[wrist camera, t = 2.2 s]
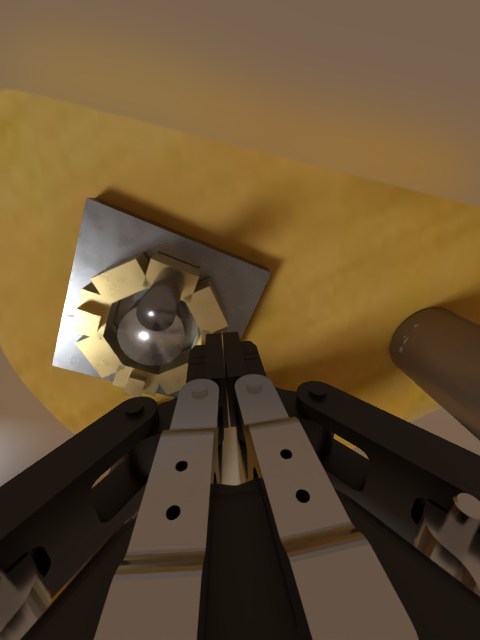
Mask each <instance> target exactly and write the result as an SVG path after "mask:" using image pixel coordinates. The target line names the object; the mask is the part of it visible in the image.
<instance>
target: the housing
mask: <svg viewBox="0 0 480 640" xmlns="http://www.w3.org/2000/svg"><path fill="white" fill-rule="evenodd" d="M141 253H144V255H145V256H146V258H147V260H148V262H149V263H150V259H151V258H152V257H153V256H154V255H155V254H156V253H160V254H162V255H165V256H168V257H170V258H173V259H176V260H178V261H181V262H183V263H186V264H189V265H191V266H194V267H196V268H199V269H200V275H199V279H198V282H200V281H203V280H205V279H207V278H210V280H211V282H212V284H213V286H214V288H215V290H216V292H217V295H218V297H219V299H220V301H221V303H222V305H223V308H224V310H225V312H226V314H227V321H228V326H227V331H228V332H238V334H239V338H240V340H241V338H242V336H243V333H244V331H245V329H246V327H247V325H248V323H249V321H250V318H251V316H252V314H253V312H254V310H255V308H256V305H257V303H258V301H259V299H260V297H261V295H262V293H263V290H264V288H265V286H266V284H267V282H268V280H269V278H270V275H271V272H270V270H269V269H268V268H266V267H263V266H261V265H258V264H256V263H253V262H251V261H248V260H246V259H244V258H241V257H239V256H236V255H234V254H231V253H229V252H226V251H224V250H222V249H219V248H217V247H214V246H212V245H209V244H207V243H204V242H202V241H200V240H197V239H195V238H192V237H190V236H187V235H185V234H183V233H180V232H178V231H175V230H173V229H170V228H168V227H165V226H163V225H161V224H158V223H156V222H153V221H151V220H148V219H146V218H143V217H141V216H139V215H136V214H134V213H131V212H129V211H126V210H124V209H121V208H119V207H117V206H114V205H112V204H109V203H107V202H104V201H102V200H99V199H97V198H87V199H86V203H85V208H84V213H83V218H82V223H81V228H80V233H79V238H78V242H77V247H76V252H75V257H74V262H73V267H72V272H71V276H70V281H69V286H68V291H67V296H66V301H65V306H64V311H63V315H62V320H61V325H60V330H59V335H58V340H57V345H56V350H55V354H54V359H53V364H52V365H53V366H57V367H61V368H65V369H68V370H72V371H76V372H80V373H84V374H87V375H91V376H95V377H99V378H101V376H100V375H99V374H98V372H97V371H96V370H95V368H94V367H93V366H92V365H91V363H90V362H89V361H88V359H87V358H86V357H85V355H84V354H83V353H82V351H81V350H80V349H79V348H78V346H77V345H76V344H75V343H76V342H77V341H78V340H79V339H80V338H81V336H82V335H83V334H80V333H76V332H73V331H72V330H73V321H74V317H75V312H76V309H77V307H78V303H79V299H80V294H81V290H82V288H84V287H85V286H86V285H88V284H89V283H91V282H92V281H91V278H92V277H94V276H95V275H97V274H98V273H99V272H101V271H102V270H105V269H107V268H109V267H111V266H114V265H116V264H118V263H121V262H123V261H125V260H127V259H130V258H132V257H134V256H136V255H139V254H141ZM198 282H197V283H198ZM147 291H148V288H146V289H144V290H141V291H139V292H137V293H134V294H132V295H130V296H127V297H125V298H123V299H120V300H119V303H118V307H117V310H116V314H115V317H114V321H113V324H114V325H115V327H116V328H117V330H118V331H117V337H118V342H119V345H120V347H121V349H122V350H123V352H124V353H125V354H126V355H127V356H128V357H129V358H131V359H132V360H134V361H136V362H138V363H141V364H144V365H150V366H157V365H163V364H166V363H168V362H171V361H172V360H174V359H175V358H176V357H177V356H178V355H179V354H180V352H182V351H184V350H187V349H189V348H191V347H192V345H193V342H194V340H195V337H196V335H197V332H198V330H199V327H198V325H197V323H196V321H195V319H194V317H193V315H192V314H191V312H190V310H189V308H188V306H187V304H186V302H185V301H182V300H180V302H179V306H178V309H177V313H176V316H175V319H174V322H173V324H172V325H171V326H170V327H169V328H167V329H165V330H163V331H152V330H149V329H147V328H145V327H143V326H142V325H141V324H140V322H139V321H138V319H137V316H136V309H137V306H138V304H139V303H140V301H141V300H142V298H143V297H144V295H145V294H146V292H147ZM223 356H224V349H223ZM224 366H225V364H224ZM115 375H116V372H115V373H113V374H110V375H108V376H106V377H103V379H106V380H110V381H114V378H115ZM179 392H180V390H179V391H176V392H174V393H171V394H169V395H167V396H171V397H175V398H177V397H178V395H179ZM156 393H160V394H163V395H166V393H165V392H164V390H163V389H162V387H161V386H160V384H159V386H158V389H157V391H156Z"/></svg>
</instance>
